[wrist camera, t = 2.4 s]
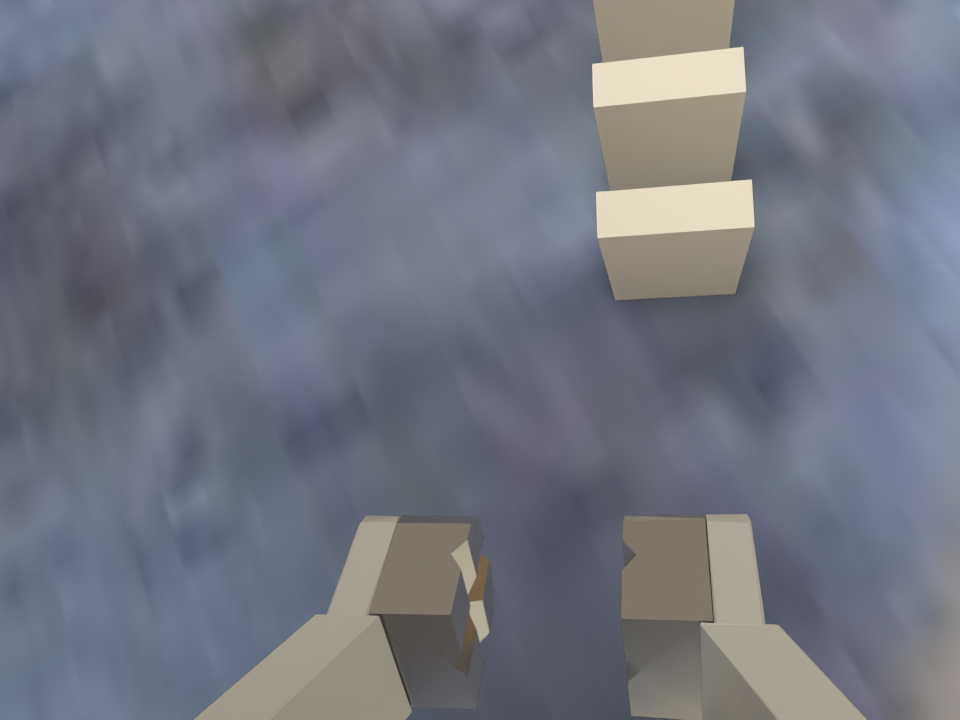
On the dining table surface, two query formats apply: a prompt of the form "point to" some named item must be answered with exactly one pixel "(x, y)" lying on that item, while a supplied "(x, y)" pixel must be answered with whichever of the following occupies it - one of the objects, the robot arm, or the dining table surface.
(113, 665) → the dining table surface
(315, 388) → the dining table surface
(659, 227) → the domino
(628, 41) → the domino
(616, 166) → the domino
